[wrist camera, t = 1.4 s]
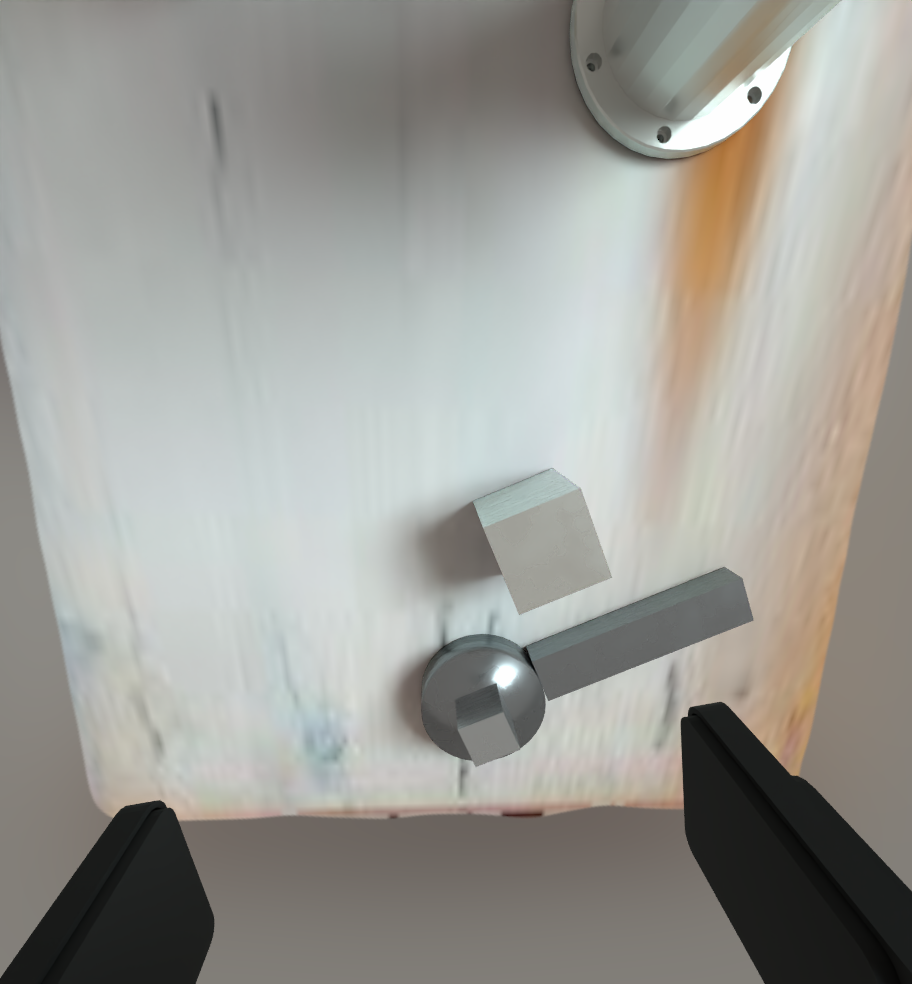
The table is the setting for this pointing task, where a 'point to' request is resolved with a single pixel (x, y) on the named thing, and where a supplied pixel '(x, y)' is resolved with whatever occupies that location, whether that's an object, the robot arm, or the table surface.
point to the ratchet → (563, 664)
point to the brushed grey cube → (542, 539)
